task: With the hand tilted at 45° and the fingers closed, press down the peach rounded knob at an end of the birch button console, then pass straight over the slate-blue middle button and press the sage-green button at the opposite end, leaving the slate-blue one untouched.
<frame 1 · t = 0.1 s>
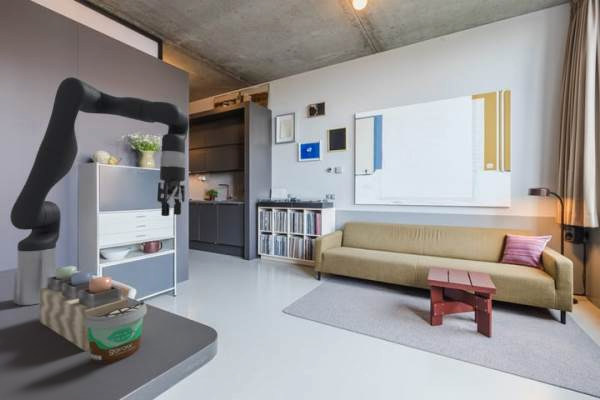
hand: (171, 215, 90), 29 cm above the table, tool pointing down, fingers open, 8 cm apart
peach rounded knob: (100, 285, 67), point 13 cm above the table, slide at 0.0 cm
sage button: (66, 273, 78), point 13 cm above the table, slide at 0.0 cm
food container: (122, 355, 60), on the table
button console: (81, 327, 73), on the table
slate button: (82, 279, 73), point 13 cm above the table, slide at 0.0 cm
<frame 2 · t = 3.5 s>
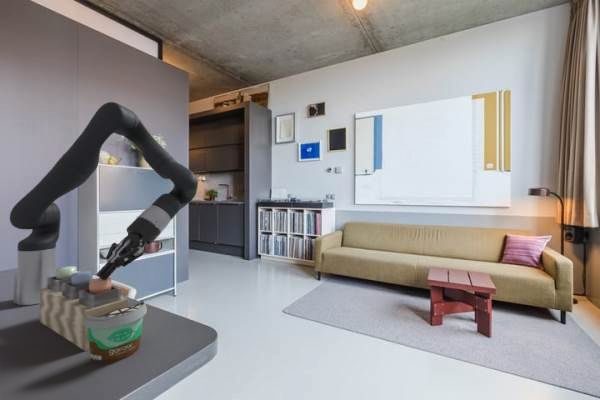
hand: (100, 277, 67), 15 cm above the table, tool tilted 45°, fingers closed
peach rounded knob: (100, 286, 67), point 13 cm above the table, slide at 0.2 cm, touching gripper
everything else where it was.
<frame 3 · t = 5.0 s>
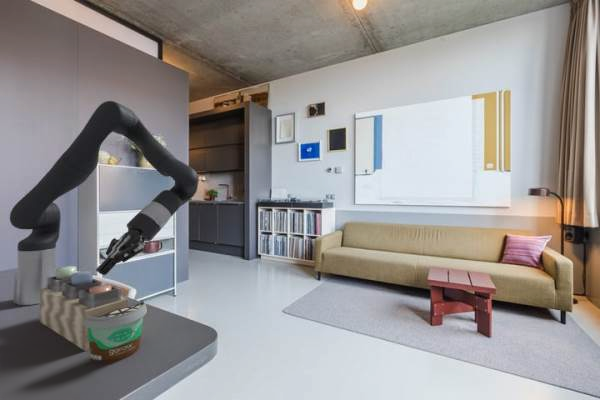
hand: (100, 272, 67), 16 cm above the table, tool tilted 45°, fingers closed
peach rounded knob: (100, 294, 67), point 11 cm above the table, slide at 2.1 cm
everything else where it was.
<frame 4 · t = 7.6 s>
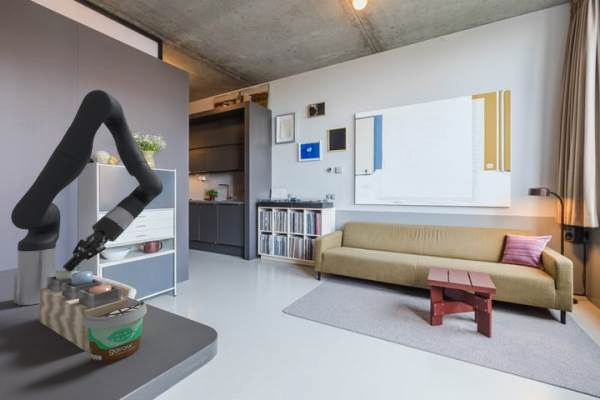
hand: (66, 269, 78), 14 cm above the table, tool tilted 45°, fingers closed
sage button: (66, 276, 78), point 12 cm above the table, slide at 1.0 cm, touching gripper
everything else where it was.
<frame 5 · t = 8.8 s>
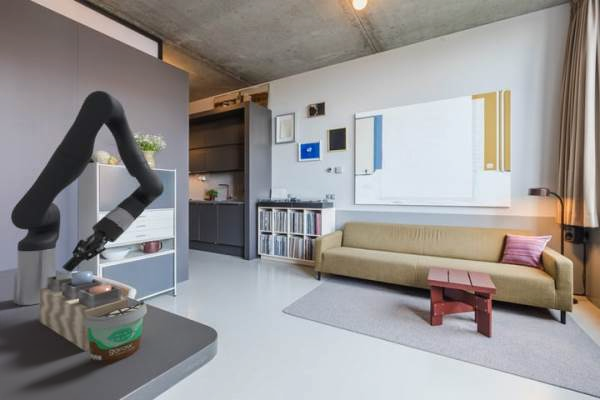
hand: (66, 269, 78), 14 cm above the table, tool tilted 45°, fingers closed
sage button: (66, 281, 78), point 11 cm above the table, slide at 2.1 cm
everything else where it was.
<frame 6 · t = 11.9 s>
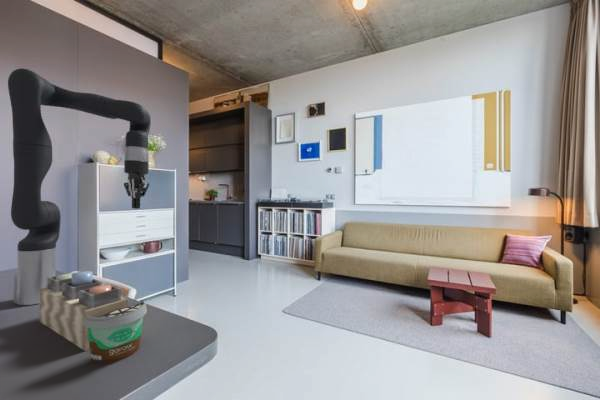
hand: (135, 208, 99), 31 cm above the table, tool pointing down, fingers closed
nothing on the table moved.
at the end: peach rounded knob slide at 2.1 cm; sage button slide at 2.1 cm; slate button slide at 0.0 cm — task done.
